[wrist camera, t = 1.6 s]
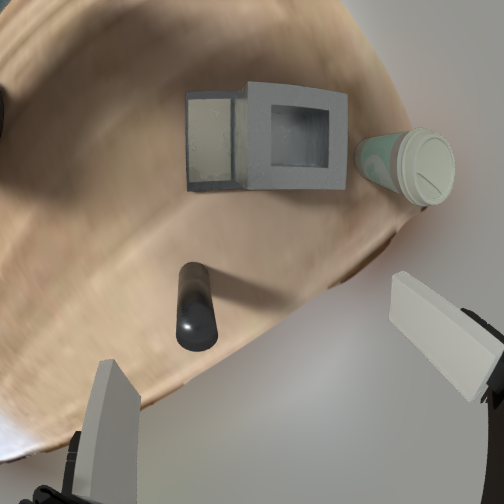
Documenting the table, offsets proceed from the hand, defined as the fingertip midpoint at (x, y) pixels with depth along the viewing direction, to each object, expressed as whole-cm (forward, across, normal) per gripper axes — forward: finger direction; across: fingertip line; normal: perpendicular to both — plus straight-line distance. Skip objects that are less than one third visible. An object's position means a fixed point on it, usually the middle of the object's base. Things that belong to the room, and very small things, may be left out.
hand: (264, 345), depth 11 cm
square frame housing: (+22, +6, +8) cm, 24 cm away
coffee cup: (+22, +22, +3) cm, 31 cm away
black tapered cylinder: (+22, -5, -6) cm, 23 cm away
